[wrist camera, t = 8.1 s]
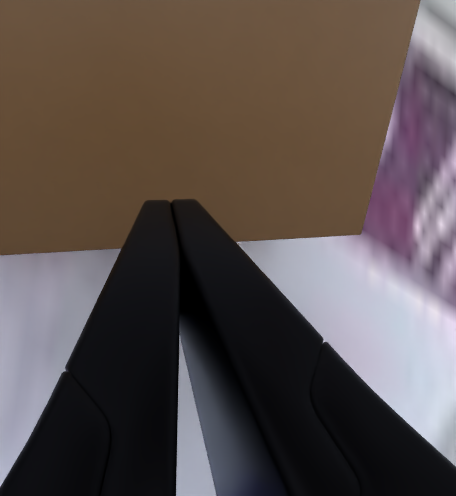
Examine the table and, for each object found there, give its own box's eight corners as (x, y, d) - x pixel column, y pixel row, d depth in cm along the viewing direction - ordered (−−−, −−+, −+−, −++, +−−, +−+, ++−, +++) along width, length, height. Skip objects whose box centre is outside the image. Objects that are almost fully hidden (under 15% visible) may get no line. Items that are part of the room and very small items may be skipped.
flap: (355, 229, 14) (361, 235, 14) (-96, 253, 11) (-103, 262, 11) (422, -44, 10) (432, -44, 10) (-233, -105, 8) (-249, -109, 7)
